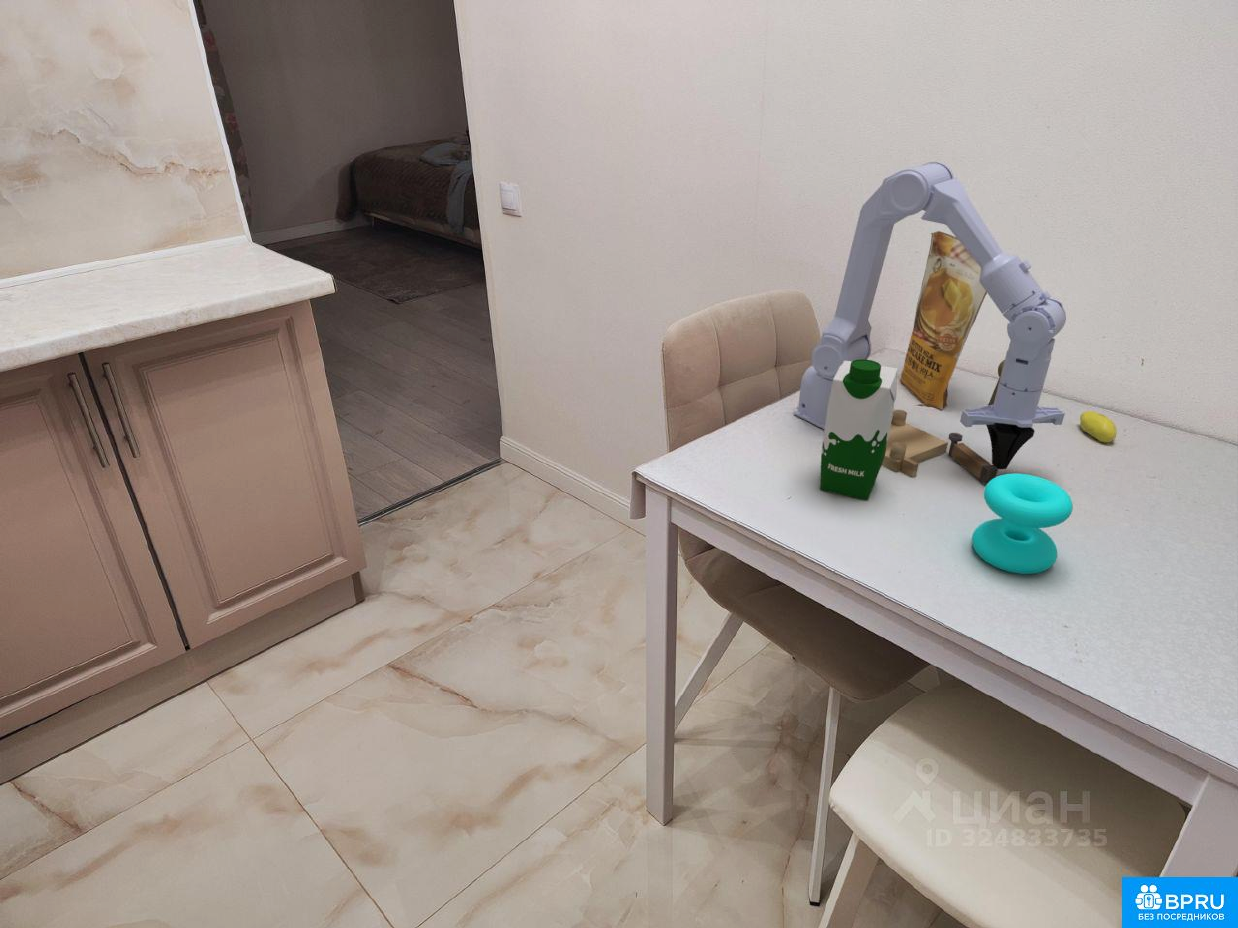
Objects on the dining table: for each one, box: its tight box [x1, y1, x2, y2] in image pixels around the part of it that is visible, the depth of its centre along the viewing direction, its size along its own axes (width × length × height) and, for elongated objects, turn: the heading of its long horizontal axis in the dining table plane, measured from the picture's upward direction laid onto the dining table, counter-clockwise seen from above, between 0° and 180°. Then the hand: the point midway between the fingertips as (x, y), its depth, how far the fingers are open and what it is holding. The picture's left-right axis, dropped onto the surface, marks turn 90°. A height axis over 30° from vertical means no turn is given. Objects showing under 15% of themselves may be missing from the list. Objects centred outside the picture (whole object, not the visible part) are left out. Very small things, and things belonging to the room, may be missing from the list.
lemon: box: [1079, 410, 1118, 444], centre depth 131 cm, size 4×8×4 cm, turn 179°
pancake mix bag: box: [900, 230, 988, 411], centre depth 141 cm, size 7×19×28 cm, turn 6°
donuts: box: [971, 473, 1074, 575], centre depth 100 cm, size 10×10×10 cm
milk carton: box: [819, 359, 898, 501], centre depth 113 cm, size 9×9×20 cm
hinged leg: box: [950, 442, 999, 485], centre depth 121 cm, size 9×2×2 cm, turn 13°
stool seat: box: [881, 409, 963, 478], centre depth 126 cm, size 13×13×4 cm
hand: (998, 466), depth 120 cm, fingers closed
